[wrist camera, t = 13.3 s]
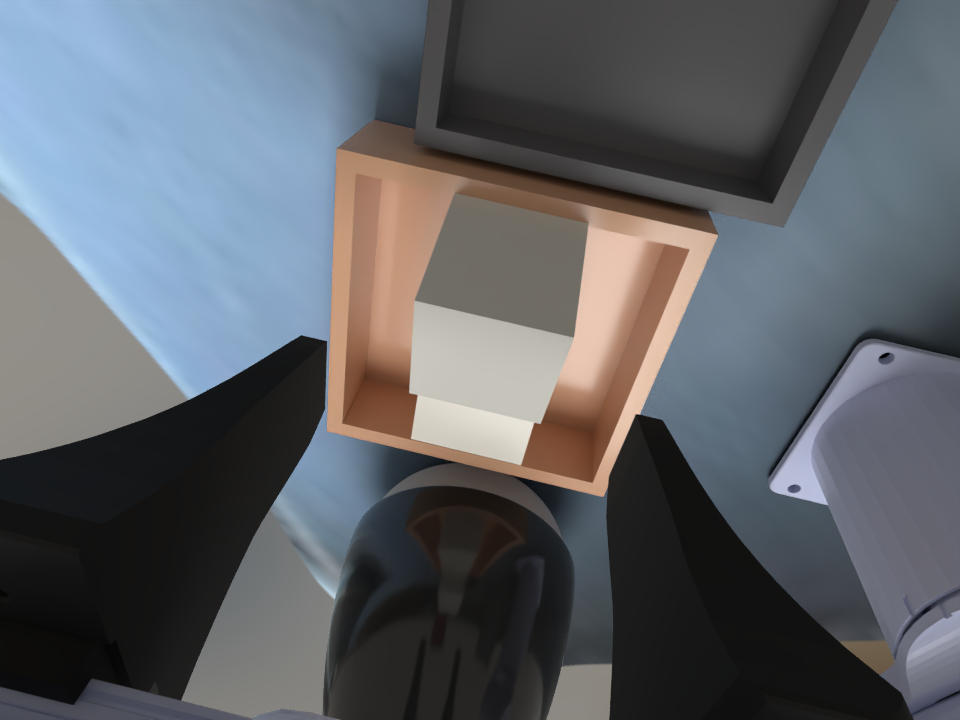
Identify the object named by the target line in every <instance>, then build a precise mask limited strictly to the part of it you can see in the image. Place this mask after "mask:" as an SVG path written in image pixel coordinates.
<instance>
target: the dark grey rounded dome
mask: <svg viewBox="0 0 960 720" xmlns="http://www.w3.org/2000/svg"><path fill="white" fill-rule="evenodd" d="M574 587H575V573H574V565H573V561H572V557H571V555H570V552H569V550H568V548H567V546H566V545H565V543H564V542H563V539H562V536H561V533H560V530H559V528H558V526H557V523H556V521H555V519H554V517H553V516H552V514H551V512H550V511H549V509H548V508H547V506H546V505H545V504H544V502H543V501H542V500H541V499H540V498H539V497H538V496H537V494H536V493H534V492H533V491H532V490H531V489H530V488H529V487H528V486H526V485H525V484H524V483H522V482H521V481H519V480H518V479H516V478H514V477H513V476H511V475H509V474H505V473H500V472H496V471H492V470H488V469H484V468H479V467H475V466H471V465H467V464H463V463H449V464H442V465H437V466H433V467H429V468H426V469H423V470H421V471H419V472H417V473H414V474H412V475H410V476H409V477H407V478H406V479H404V480H402V481H401V482H400V483H398V484H397V485H396V486H395V487H393V488H392V489H391V490H390V491H389V492H388V493H387V494H386V495H385V496H384V497H383V498H382V499H381V501H379V502H378V503H376V504H375V505H374V506H372V507H371V508H370V509H369V510H368V511H367V512H366V513H365V514H364V516H363V517H362V518H361V520H360V521H359V523H358V525H357V527H356V529H355V531H354V534H353V536H352V539H351V541H350V544H349V547H348V550H347V553H346V557H345V560H344V564H343V568H342V572H341V576H340V580H339V584H338V588H337V593H336V597H335V602H334V607H333V612H332V617H331V623H330V629H329V635H328V643H327V651H326V661H325V673H324V688H323V715H322V716H327V717H331V718H335V719H339V720H546V719H547V716H548V713H549V710H550V707H551V704H552V701H553V697H554V694H555V690H556V687H557V683H558V679H559V676H560V671H561V667H562V663H563V659H564V654H565V649H566V644H567V639H568V633H569V628H570V622H571V616H572V609H573V602H574Z"/></svg>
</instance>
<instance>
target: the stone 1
mask: <svg viewBox="0 0 960 720" xmlns="http://www.w3.org/2000/svg"><path fill="white" fill-rule="evenodd" d="M588 226H589V223H585V222H580V221H576V220H572V219H567V218H563V217H558V216H554V215H550V214H545V213H541V212H537V211H532V210H528V209H523V208H519V207H515V206H510V205H506V204H502V203H497V202H493V201H488V200H484V199H480V198H475V197H471V196H467V195H462V194H458V193H454V196H453V198H452V201H451V204H450V207H449V209H448V212H447V215H446V217H445V220H444V223H443V225H442V228H441V231H440V233H439V236H438V239H437V241H436V244H435V247H434V250H433V252H432V255H431V258H430V260H429V263H428V266H427V268H426V271H425V274H424V276H423V279H422V282H421V284H420V287H419V290H418V292H417V295H416V298H415V301H414V317H413V335H412V352H411V370H410V387H409V393H411V394H415V395H420V396H424V397H428V398H432V399H436V400H441V401H445V402H449V403H453V404H458V405H462V406H466V407H470V408H475V409H479V410H483V411H487V412H491V413H496V414H500V415H504V416H508V417H513V418H517V419H521V420H525V421H530V422H534V423H538V424H541V422H542V419H543V416H544V414H545V411H546V409H547V406H548V404H549V401H550V398H551V396H552V393H553V391H554V388H555V386H556V383H557V380H558V378H559V375H560V373H561V370H562V368H563V365H564V363H565V360H566V357H567V355H568V352H569V350H570V347H571V345H572V342H573V339H574V335H575V327H576V319H577V311H578V304H579V296H580V288H581V280H582V273H583V265H584V257H585V249H586V241H587V234H588Z"/></svg>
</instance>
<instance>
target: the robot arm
mask: <svg viewBox="0 0 960 720" xmlns="http://www.w3.org/2000/svg"><path fill="white" fill-rule="evenodd" d="M884 353H890V354H889V355H888V356H887V357H885V358H879V357H880V356H881V355H882V354H884ZM326 356H327V341H323V340H319V339H314V338H310V337H306V336H302V335H301V336H299V337H298V338H296V339H294V340H293V341H291V342H289V343H288V344H286V345H285V346H283V347H281V348H280V349H278V350H276V351H275V352H273V353H272V354H270V355H268V356H267V357H265V358H264V359H262V360H260V361H259V362H257V363H255V364H254V365H252V366H250V367H249V368H247V369H245V370H244V371H242V372H240V373H239V374H237V375H235V376H233V377H232V378H230V379H228V380H226V381H224V382H223V383H221V384H219V385H217V386H215V387H213V388H211V389H209V390H207V391H206V392H204V393H202V394H200V395H198V396H196V397H194V398H192V399H190V400H188V401H186V402H184V403H182V404H179V405H177V406H175V407H173V408H170V409H168V410H165V411H163V412H161V413H158V414H156V415H153V416H151V417H149V418H146V419H143V420H141V421H138V422H135V423H132V424H129V425H127V426H123V427H121V428H118V429H115V430H112V431H109V432H106V433H103V434H101V435H97V436H94V437H91V438H88V439H84V440H81V441H77V442H74V443H70V444H66V445H63V446H59V447H55V448H51V449H48V450H43V451H40V452H35V453H31V454H26V455H22V456H17V457H12V458H7V459H2V460H0V720H339V719H335V718H331V717H327V716H322V715H318V714H314V713H310V712H301V711H294V710H286V709H281V710H276V711H272V712H268V713H264V714H261V715H259V716H257V717H254V718H253V719H252V718H248V717H244V716H240V715H236V714H231V713H228V712H224V711H220V710H216V709H212V708H208V707H204V706H200V705H196V704H192V703H188V702H184V701H181V699H182V696H183V694H184V692H185V689H186V686H187V684H188V682H189V679H190V677H191V674H192V672H193V669H194V667H195V664H196V662H197V660H198V657H199V655H200V653H201V650H202V648H203V646H204V643H205V641H206V639H207V636H208V634H209V632H210V629H211V627H212V625H213V622H214V620H215V618H216V616H217V613H218V611H219V609H220V607H221V604H222V602H223V600H224V598H225V596H226V594H227V591H228V589H229V587H230V585H231V583H232V580H233V578H234V576H235V574H236V572H237V570H238V568H239V565H240V563H241V561H242V559H243V557H244V555H245V553H246V551H247V549H248V547H249V545H250V543H251V541H252V539H253V536H254V535H255V533H256V531H257V530H258V528H259V526H260V524H261V522H262V521H263V519H264V517H265V516H266V514H267V513H268V511H269V509H270V508H271V506H272V504H273V503H274V501H275V500H276V498H277V496H278V495H279V493H280V492H281V490H282V488H283V487H284V485H285V484H286V482H287V480H288V479H289V477H290V475H291V474H292V472H293V471H294V469H295V467H296V466H297V464H298V462H299V461H300V459H301V457H302V456H303V454H304V453H305V451H306V449H307V447H308V446H309V444H310V442H311V439H312V437H313V435H314V433H315V431H316V429H317V426H318V424H319V422H320V419H321V417H322V415H323V412H324V410H325V389H326ZM768 482H769V486H770V489H771V490H772V491H773V492H776V493H779V494H783V495H787V496H792V497H796V498H800V499H804V500H808V501H813V502H817V503H821V504H825V505H828V506H829V508H830V511H831V513H832V516H833V518H834V520H835V523H836V525H837V527H838V530H839V532H840V534H841V537H842V539H843V541H844V544H845V546H846V548H847V551H848V553H849V555H850V558H851V560H852V562H853V565H854V567H855V569H856V572H857V574H858V576H859V579H860V581H861V583H862V586H863V588H864V590H865V593H866V595H867V597H868V600H869V602H870V604H871V607H872V609H873V611H874V614H875V616H876V618H877V621H878V623H879V625H880V628H881V630H882V632H883V635H884V637H885V639H886V642H887V644H888V646H889V649H890V651H891V653H892V656H893V658H894V660H895V662H894V664H893V665H892V666H891V667H890V668H889V669H888V670H887V671H885V672H883V673H882V674H880V675H879V674H877V673H876V672H875V671H874V670H872V669H871V668H870V667H869V666H867V665H866V664H865V663H864V662H862V661H861V660H860V659H859V658H857V657H856V656H855V655H854V654H852V653H851V652H850V651H849V650H848V649H846V648H845V647H844V646H843V645H842V644H841V643H840V642H839V641H838V640H836V639H835V638H834V637H833V636H832V635H831V634H830V633H829V632H827V631H826V630H825V629H824V628H823V627H822V626H821V625H820V624H819V623H817V622H816V621H815V620H814V619H813V618H812V617H811V616H810V615H809V614H808V613H807V612H806V611H805V610H804V609H803V608H802V607H801V606H800V605H799V604H798V603H797V602H796V601H795V600H794V599H793V598H792V597H791V596H790V595H789V594H788V593H787V592H786V591H785V590H784V589H783V588H782V587H781V586H780V585H779V584H778V583H777V582H776V581H775V580H774V578H773V577H772V576H771V575H770V574H769V573H768V572H767V571H766V570H765V569H764V567H763V566H762V565H761V564H760V563H759V562H758V560H757V559H756V558H755V557H754V556H753V555H752V553H751V552H750V551H749V550H748V549H747V547H746V546H745V545H744V544H743V543H742V541H741V540H740V539H739V538H738V536H737V535H736V534H735V532H734V531H733V530H732V529H731V527H730V526H729V524H728V523H727V522H726V520H725V519H724V517H723V516H722V515H721V513H720V512H719V511H718V509H717V508H716V506H715V505H714V503H713V502H712V501H711V499H710V498H709V496H708V495H707V493H706V492H705V490H704V488H703V487H702V485H701V484H700V482H699V481H698V479H697V477H696V476H695V474H694V473H693V471H692V469H691V468H690V466H689V464H688V463H687V461H686V459H685V458H684V456H683V454H682V453H681V451H680V449H679V447H678V446H677V444H676V442H675V441H674V439H673V437H672V435H671V434H670V432H669V430H668V428H667V427H666V425H665V423H664V422H663V420H660V419H656V418H651V417H647V416H643V415H639V414H636V415H635V417H634V420H633V422H632V424H631V426H630V429H629V431H628V433H627V436H626V438H625V440H624V443H623V445H622V447H621V449H620V452H619V454H618V456H617V459H616V461H615V463H614V466H613V468H612V470H611V472H610V475H609V481H608V495H607V514H606V518H607V534H608V548H609V562H610V575H611V588H612V601H613V655H612V680H611V701H610V718H609V720H960V358H957V357H953V356H948V355H944V354H940V353H935V352H931V351H927V350H922V349H918V348H914V347H909V346H905V345H900V344H896V343H892V342H887V341H883V340H879V339H868V340H864V341H862V342H861V343H859V344H858V345H857V346H856V347H855V349H854V350H853V352H852V353H851V355H850V356H849V358H848V359H847V361H846V362H845V364H844V366H843V367H842V369H841V370H840V372H839V373H838V375H837V376H836V378H835V379H834V381H833V382H832V384H831V385H830V387H829V388H828V390H827V391H826V393H825V394H824V396H823V397H822V399H821V400H820V402H819V403H818V405H817V406H816V408H815V409H814V411H813V412H812V414H811V415H810V417H809V418H808V420H807V421H806V423H805V424H804V426H803V427H802V429H801V430H800V432H799V433H798V435H797V436H796V438H795V439H794V441H793V443H792V444H791V446H790V447H789V449H788V450H787V452H786V453H785V455H784V456H783V458H782V459H781V461H780V462H779V464H778V465H777V467H776V468H775V470H774V471H773V473H772V474H771V476H770V477H769V480H768ZM794 484H795V486H790V485H794Z"/></svg>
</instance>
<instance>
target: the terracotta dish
mask: <svg viewBox="0 0 960 720" xmlns="http://www.w3.org/2000/svg"><path fill="white" fill-rule="evenodd" d="M414 135H415V129H414V128H409V127H405V126H400V125H396V124H391V123H387V122H383V121H378V120H372V121H371V122H370V123H368V124H367V125H366V126H365V127H363V128H362V129H361V130H360V131H358V132H357V133H356V134H354V135H353V136H352V137H351V138H349V139H348V140H347V141H346V142H344V143H343V144H342V145H341V146H339V147H338V148H337V156H336V185H335V214H334V243H333V272H332V301H331V330H330V360H329V389H328V418H327V431H328V432H332V433H336V434H341V435H345V436H349V437H353V438H357V439H362V440H366V441H370V442H374V443H378V444H383V445H387V446H391V447H395V448H399V449H404V450H408V451H412V452H416V453H421V454H425V455H429V456H433V457H437V458H442V459H446V460H450V461H454V462H458V463H463V464H467V465H471V466H475V467H479V468H484V469H488V470H492V471H496V472H500V473H505V474H509V475H513V476H517V477H521V478H526V479H530V480H534V481H538V482H542V483H547V484H551V485H555V486H559V487H563V488H568V489H572V490H576V491H580V492H584V493H589V494H593V495H597V496H601V497H603V496H604V494H605V492H606V490H607V487H608V481H609V475H610V472H611V470H612V468H613V466H614V463H615V461H616V459H617V456H618V454H619V452H620V449H621V447H622V445H623V443H624V440H625V438H626V436H627V433H628V431H629V429H630V426H631V424H632V422H633V420H634V417H635V415H636V414H639V415H640V412H641V410H642V408H643V405H644V403H645V401H646V399H647V396H648V394H649V392H650V390H651V387H652V385H653V383H654V380H655V378H656V376H657V374H658V371H659V369H660V367H661V365H662V362H663V360H664V358H665V355H666V353H667V351H668V349H669V346H670V344H671V342H672V340H673V337H674V335H675V333H676V330H677V328H678V326H679V324H680V321H681V319H682V317H683V314H684V312H685V310H686V308H687V305H688V303H689V301H690V299H691V296H692V294H693V292H694V289H695V287H696V285H697V283H698V280H699V278H700V276H701V274H702V271H703V269H704V267H705V264H706V262H707V260H708V258H709V255H710V253H711V251H712V249H713V246H714V244H715V242H716V239H717V237H718V233H717V231H716V229H715V226H714V224H713V222H712V220H711V217H710V215H709V213H708V211H707V210H703V209H699V208H694V207H690V206H686V205H681V204H677V203H672V202H668V201H663V200H659V199H655V198H650V197H646V196H641V195H637V194H632V193H628V192H624V191H619V190H615V189H610V188H606V187H601V186H597V185H593V184H588V183H584V182H579V181H575V180H571V179H566V178H562V177H557V176H553V175H548V174H544V173H540V172H535V171H531V170H526V169H522V168H517V167H513V166H509V165H504V164H500V163H495V162H491V161H486V160H482V159H478V158H473V157H469V156H464V155H460V154H455V153H451V152H447V151H442V150H438V149H433V148H429V147H425V146H420V145H416V144H414ZM454 193H458V194H462V195H467V196H471V197H475V198H480V199H484V200H488V201H493V202H497V203H502V204H506V205H510V206H515V207H519V208H523V209H528V210H532V211H537V212H541V213H545V214H550V215H554V216H558V217H563V218H567V219H572V220H576V221H580V222H585V223H589V226H588V234H587V241H586V249H585V257H584V265H583V273H582V280H581V288H580V296H579V304H578V311H577V319H576V327H575V335H574V339H573V342H572V345H571V347H570V350H569V352H568V355H567V357H566V360H565V363H564V365H563V368H562V370H561V373H560V375H559V378H558V380H557V383H556V386H555V388H554V391H553V393H552V396H551V398H550V401H549V404H548V406H547V409H546V411H545V414H544V416H543V419H542V422H541V424H538V423H534V425H533V428H532V432H531V435H530V438H529V441H528V444H527V448H526V451H525V454H524V457H523V460H522V464H521V465H517V464H513V463H509V462H505V461H501V460H497V459H492V458H488V457H484V456H480V455H476V454H472V453H467V452H463V451H459V450H455V449H451V448H447V447H442V446H438V445H434V444H430V443H426V442H422V441H417V440H413V439H411V436H412V429H413V423H414V416H415V409H416V403H417V396H418V395H415V394H411V393H409V387H410V370H411V352H412V335H413V317H414V301H415V298H416V295H417V292H418V290H419V287H420V284H421V282H422V279H423V276H424V274H425V271H426V268H427V266H428V263H429V260H430V258H431V255H432V252H433V250H434V247H435V244H436V241H437V239H438V236H439V233H440V231H441V228H442V225H443V223H444V220H445V217H446V215H447V212H448V209H449V207H450V204H451V201H452V198H453V196H454Z"/></svg>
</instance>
